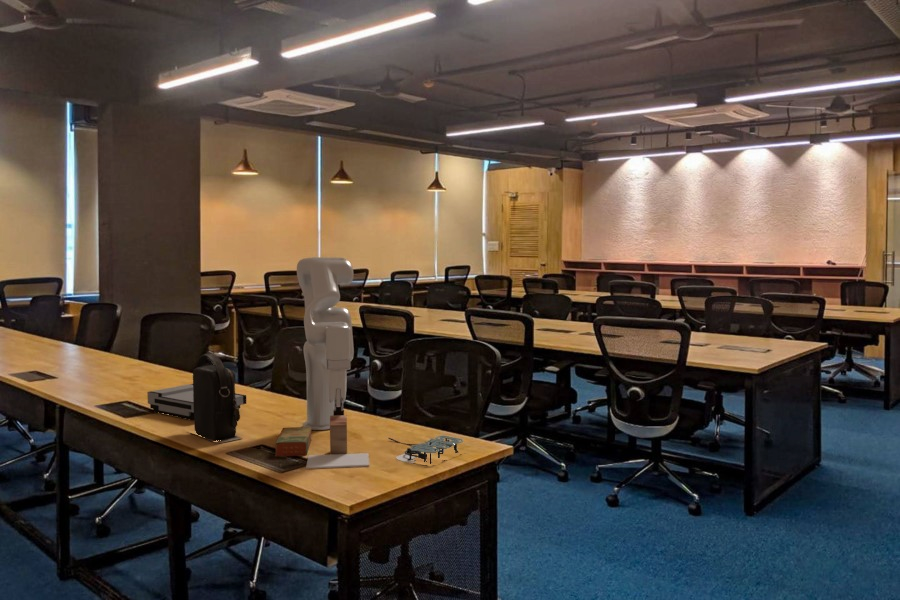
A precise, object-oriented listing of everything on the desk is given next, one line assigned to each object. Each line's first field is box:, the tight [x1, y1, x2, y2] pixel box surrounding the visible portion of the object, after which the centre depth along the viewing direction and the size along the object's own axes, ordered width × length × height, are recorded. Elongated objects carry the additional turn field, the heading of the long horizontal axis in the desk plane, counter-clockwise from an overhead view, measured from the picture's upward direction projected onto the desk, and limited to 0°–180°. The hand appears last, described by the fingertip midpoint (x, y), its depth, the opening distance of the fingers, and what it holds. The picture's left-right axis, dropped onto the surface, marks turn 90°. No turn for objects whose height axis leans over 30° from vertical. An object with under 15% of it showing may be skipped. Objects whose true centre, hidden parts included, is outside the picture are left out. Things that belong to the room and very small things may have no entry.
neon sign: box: [388, 434, 465, 464], centre depth 224 cm, size 21×4×29 cm
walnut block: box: [329, 414, 348, 455], centre depth 220 cm, size 5×5×11 cm
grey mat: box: [305, 452, 370, 470], centre depth 213 cm, size 12×18×1 cm, turn 98°
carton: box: [275, 426, 312, 457], centre depth 228 cm, size 10×18×5 cm, turn 6°
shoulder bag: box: [192, 352, 243, 444], centre depth 242 cm, size 23×9×28 cm, turn 46°
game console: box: [146, 383, 247, 421], centre depth 277 cm, size 21×32×8 cm, turn 57°
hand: (338, 422), depth 224 cm, fingers closed
